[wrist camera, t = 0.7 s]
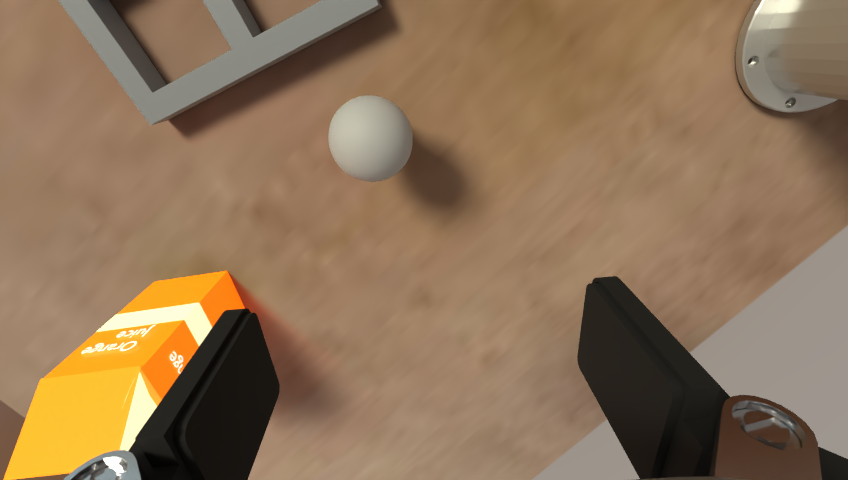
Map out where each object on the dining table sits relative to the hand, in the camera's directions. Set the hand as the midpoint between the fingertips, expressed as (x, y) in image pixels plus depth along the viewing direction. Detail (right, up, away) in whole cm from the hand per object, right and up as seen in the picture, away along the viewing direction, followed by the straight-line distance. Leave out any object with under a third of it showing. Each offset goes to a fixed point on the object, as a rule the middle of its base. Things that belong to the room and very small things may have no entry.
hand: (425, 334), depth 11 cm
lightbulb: (-4, +14, +25) cm, 28 cm away
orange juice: (-25, -5, +34) cm, 43 cm away
